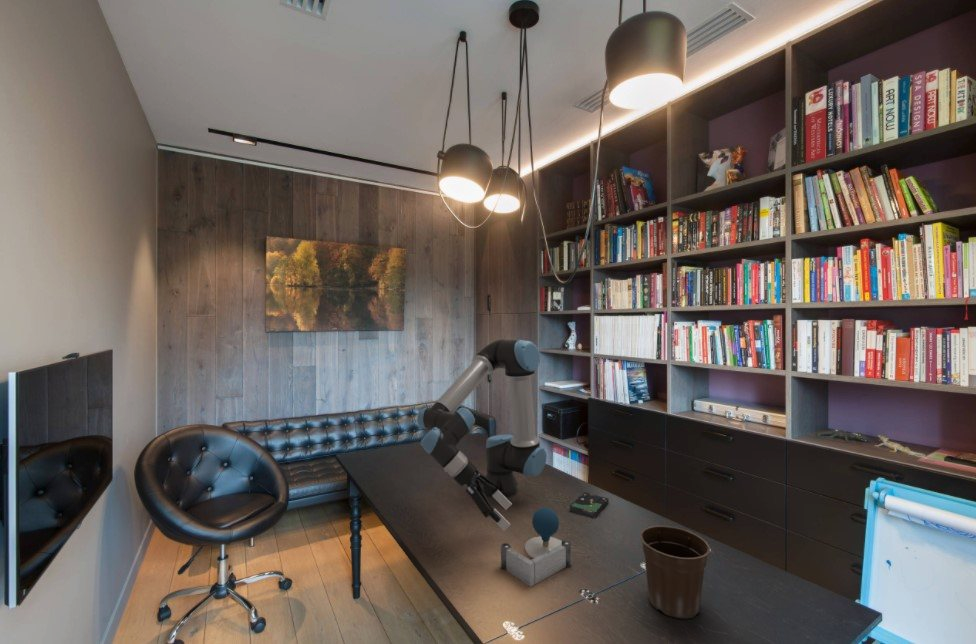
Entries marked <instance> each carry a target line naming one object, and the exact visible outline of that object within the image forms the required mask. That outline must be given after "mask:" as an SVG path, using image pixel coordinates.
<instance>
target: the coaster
mask: <svg viewBox="0 0 976 644" xmlns="http://www.w3.org/2000/svg"><path fill="white" fill-rule="evenodd" d="M562 541H563V540H560V539H558V538H556V537H553V536H551V537H550V540H549V546H548V547H544V546H543V540H542V538H541V536H540V535H538V536H534V537H532V538H530V539H529V538H528V540H527V541H526V542H525V543H524V550H525V553H526V555H528V556H529V557H530V558H531V559H534V558H536V557H538V556H540V555H542V554H544V553H546V552H547V551H549V550H551V549H553V548H555V547H557V546H559V545H561V544H562Z"/></svg>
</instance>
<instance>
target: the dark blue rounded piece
mask: <svg viewBox="0 0 976 644" xmlns="http://www.w3.org/2000/svg"><path fill="white" fill-rule="evenodd" d="M531 520H532V521H531V523H532V529H534V531H535V533H536V534H538V536H541V538H542V540H543V546H544V547H548V546H549V540H550V537H553V535H555V534H556V533H557V532H558V530H559V526H560V521H559V520H560V519H559V516H558V514H557V513H556V512H555V511H554V509H551V508H549V507H541V508H539V509H538V508H537V510H536V511H534V513H533V516H532V519H531Z"/></svg>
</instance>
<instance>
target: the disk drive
mask: <svg viewBox="0 0 976 644" xmlns="http://www.w3.org/2000/svg"><path fill="white" fill-rule="evenodd" d="M609 501H610V500H609V498H608V497H605V496H600V495H597V494H596V495H595V494H594V495H592V494H590V493H587V492H583V493H582V494H581V495H580V496H578V497H577V499H575V500H574V501H573V502H572V503H571V504H570V505H569V511H570V512H571V513H574V514H579V515H582V516H586V517H590V518H593V519H596V518H597V517H598V516H599V515H600V514H601V512H603V511H604V510H605V508H606V507H608V505H609V503H610V502H609Z"/></svg>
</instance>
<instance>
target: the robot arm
mask: <svg viewBox="0 0 976 644" xmlns="http://www.w3.org/2000/svg"><path fill="white" fill-rule="evenodd" d="M540 355H541V354H540V352H539V349H538V346H537V345H536V344H535V343H534V342H533V341H531V340H524V339H504V338H503V339H497V340H496V339H495V340H494V341H492V342H490V343H488V344H487V345H485V346H484V347H483V348H482V349H480V350H479V351H478V352H477V353H476V355H474V356H473V359H472V362H471V363H470V365H468V367H466V368H465V370H464V371H463V372H462V373H461V374H460V375H459V376H458V377H457V378H456V379H455V380H454V382H453V383H452V384H451V385H450V387H448V388H447V389H446V390H445V391H444V393H443V394H442V395H441V396H440V397H439V398H438V399H437V400H436V401H435V403H433V404H432V406H431V407H423V408H421V409H420V410H419V412H418V414H417V416H416V417H417V418H416V420H417V421H416V422H417V424H418V425H419V427H420V428H422V429H425V430H426V431H428V433H426V435H424V437H423V438H422V439H421V441H420V445H421V447H422V448H423V449H424V451H425V452H426V453H427V454H428V455H429V456H430V457H431V458H432V459H433V460H434V461H435V462H437V464H438V465H439V466H440V467H441V468H443V470H444V472H445V473H447V474H448V475H449V476H451V477H453V480H454V481H455V482H456V483H457V484H458V485H459V486H460V487H463V486H464V485H466V486H467V489H466V490H465V491H466V493H467V494H468V495H469V496H470V497H471V499H472V500H473V502H474V503H475V505H476V506H477V508H478V510H480V512H481V514H482V515H483V516H484V517H485V518H486V519H487V518H488V517H489V518H490V519H491V520H492V521H493V522H494V523H496V525H497V526H498V527H499V528H500V529H501V530H502V531H503V532H504V531H506V529H508V528H509V527H510V526H511V523H510V522H509V521H508V520H507V519H506V518H505V517H504V516H503V515H502V514H501V513H500V512H499V511H498V509H496V508H494V506H492V504H491V502H490V500H489V498H488V497H491V498H493V499H494V500H495V501H496V502H497V503H498V504H499V505H500V506H501V507H503V508H504V510H505V511H507V510H508V509H509V508H510V507H511V506H512V505H513V503H512V502H511V501H510V500H509V499H508V498H509V497H514V496H516V494H518V492H519V485H518V482H517V478H516V474H515V473H518V474H522V475H524V476H529V477H536V476H538V475H540V474H541V473H542V471H543V470H544V467H545V466H546V462H547V451H546V450H545V448H543V447H542V446H540V445H541V443H540V439H539V438H538V437H537V436H536V430H535V427H536V425H535V413H534V399H533V387H532V386H533V385H532V378H533V376H534V375H535V371H536V370H537V369H538V367H539V365H540V361H541V356H540ZM498 369H504V375H505V377H507V378H508V380H509V390H510V391H509V392H510V403H511V405H510V406H511V414H512V417H511V418H512V430H513V434H496V435H492V436H490V437H488V438H487V439H486V446H485V454H486V455H485V462H486V464H485V465H486V469H485V470H486V471H485V472H486V473H485V475H484V474H482V473H481V472H480V471H479V470H478V469H477V468H478V467H476V465H475V464H474V463H472V461H471V460H469V459H468V458H467V456H466V454H464V453H463V452H462V451H461V450H460V449H459V448H458V447H457V445H458V444H459V443H460V441H462V439H463V438H464V437H465V436H466V435H467V434H468V432H470V431H471V429H472V427H474V424H475V423H476V418H475V417H474V414H473V413H472V412H471V411H470V409H467V408H465V407H460V406H461V405H462V404H463V403H464V401H466V399H467V398H468V397H469V396H470V395H471V394H472V393H473V391H474V390H475V389H476V388H477V387H478V386H479V385H480V383H482V381H483V380H484V378H485V377H486V376H487V375H491V374H492V373H493V372H494V371H495V370H498ZM459 407H460V408H459ZM487 496H488V497H487Z"/></svg>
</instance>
